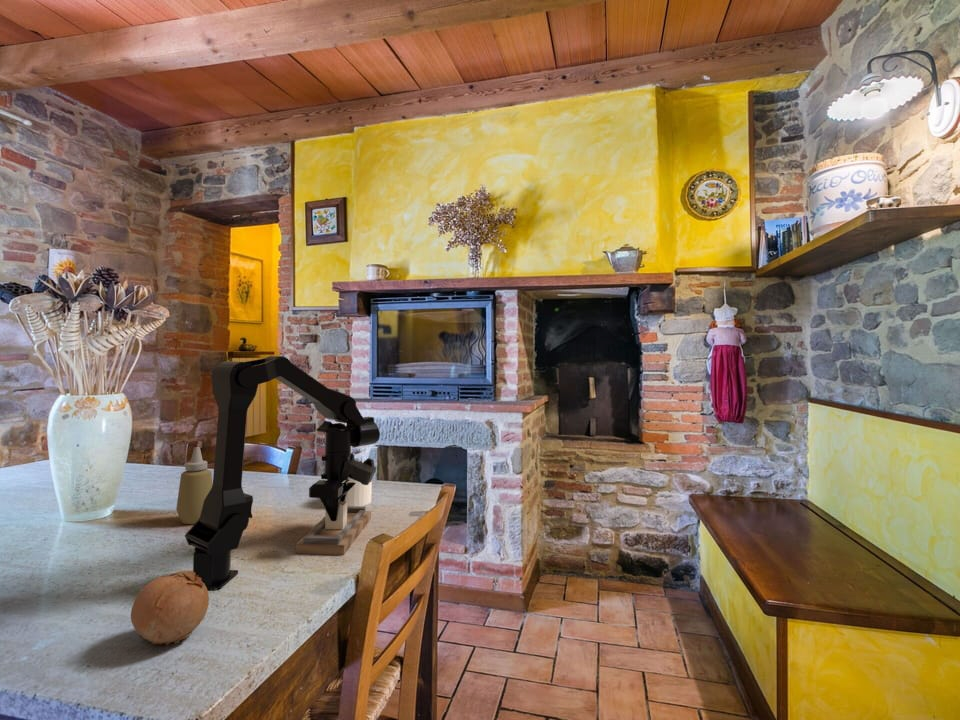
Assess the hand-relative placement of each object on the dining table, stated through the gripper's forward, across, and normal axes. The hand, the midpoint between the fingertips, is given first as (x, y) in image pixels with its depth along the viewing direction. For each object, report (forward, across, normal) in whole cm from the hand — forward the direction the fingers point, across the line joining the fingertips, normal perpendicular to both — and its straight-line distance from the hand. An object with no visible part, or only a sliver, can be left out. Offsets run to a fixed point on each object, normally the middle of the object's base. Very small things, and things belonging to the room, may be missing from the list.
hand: (336, 518), depth 109 cm
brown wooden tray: (+4, +1, 0) cm, 4 cm away
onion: (+4, -40, +11) cm, 42 cm away
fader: (+2, 0, 0) cm, 2 cm away
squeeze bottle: (+4, +7, +37) cm, 38 cm away
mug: (+4, +26, +4) cm, 27 cm away
